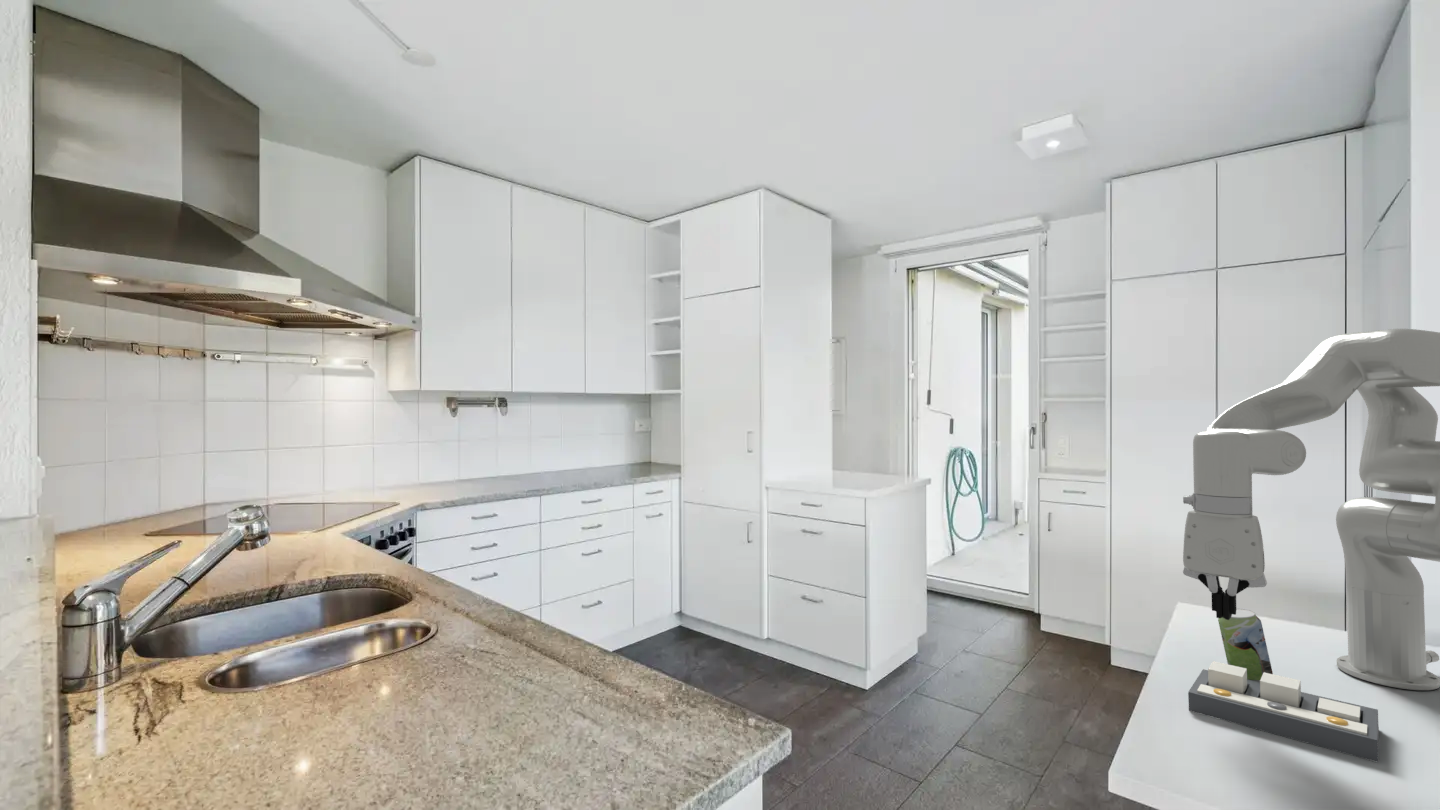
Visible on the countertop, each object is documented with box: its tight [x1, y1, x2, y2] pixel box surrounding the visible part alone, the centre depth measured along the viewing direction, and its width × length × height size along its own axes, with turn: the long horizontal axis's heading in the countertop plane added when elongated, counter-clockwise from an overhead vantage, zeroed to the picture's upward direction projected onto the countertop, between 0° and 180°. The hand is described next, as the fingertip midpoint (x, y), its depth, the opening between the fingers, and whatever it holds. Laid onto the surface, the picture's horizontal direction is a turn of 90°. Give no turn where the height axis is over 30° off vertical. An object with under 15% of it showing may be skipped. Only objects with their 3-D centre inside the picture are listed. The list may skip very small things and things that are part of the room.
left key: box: [1207, 660, 1247, 694], centre depth 103 cm, size 4×4×3 cm
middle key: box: [1260, 672, 1302, 707], centre depth 98 cm, size 4×4×3 cm
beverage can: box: [1217, 608, 1274, 682], centre depth 111 cm, size 6×7×12 cm
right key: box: [1317, 698, 1361, 723], centre depth 93 cm, size 4×4×3 cm
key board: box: [1187, 668, 1380, 763], centre depth 97 cm, size 12×21×4 cm, turn 43°
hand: (1224, 616), depth 102 cm, fingers closed
